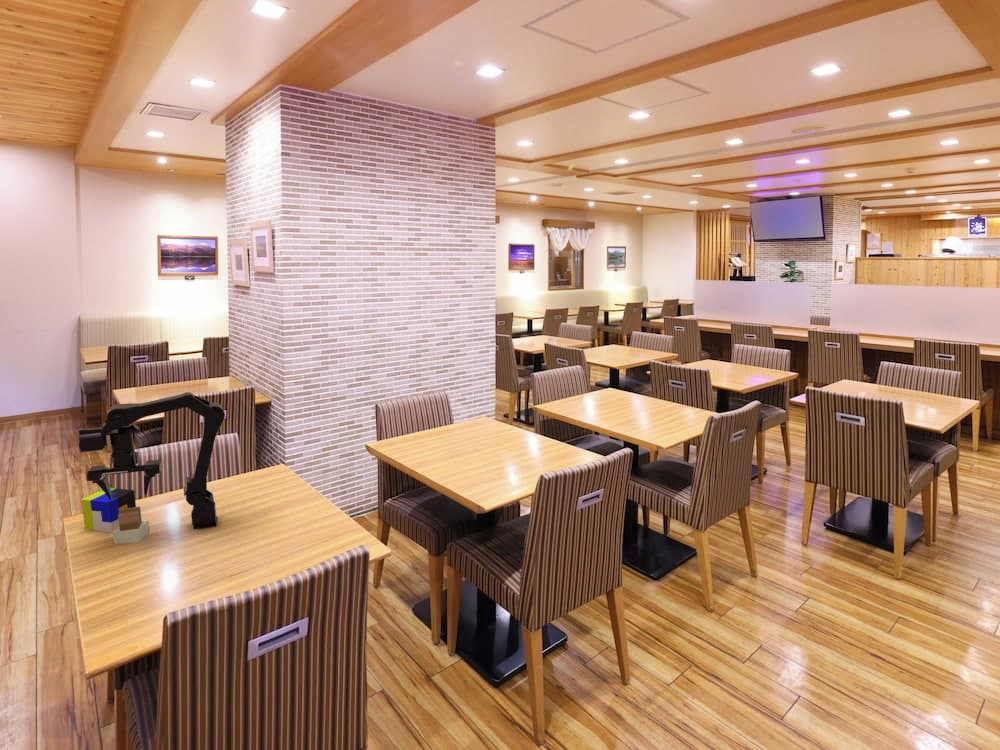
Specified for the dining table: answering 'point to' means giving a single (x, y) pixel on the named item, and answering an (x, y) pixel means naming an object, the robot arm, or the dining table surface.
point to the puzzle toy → (106, 509)
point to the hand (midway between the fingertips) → (128, 497)
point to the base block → (131, 534)
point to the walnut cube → (129, 518)
